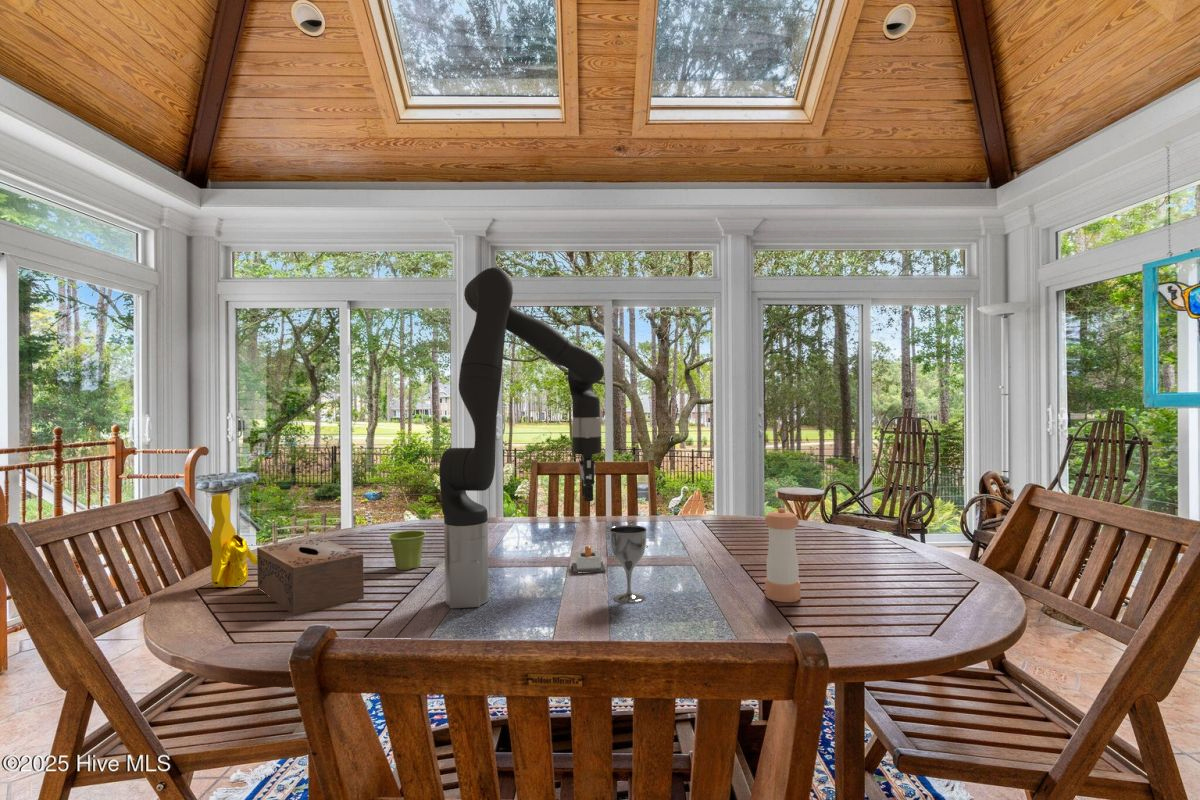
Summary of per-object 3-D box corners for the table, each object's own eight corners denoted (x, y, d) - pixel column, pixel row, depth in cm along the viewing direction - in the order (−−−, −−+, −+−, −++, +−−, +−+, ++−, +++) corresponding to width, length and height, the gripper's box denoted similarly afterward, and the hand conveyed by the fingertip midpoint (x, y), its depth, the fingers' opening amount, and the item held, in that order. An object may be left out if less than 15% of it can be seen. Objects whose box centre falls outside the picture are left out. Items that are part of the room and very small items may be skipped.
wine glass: (617, 605, 126) (615, 534, 126) (606, 594, 133) (605, 526, 133) (652, 601, 128) (651, 531, 128) (640, 590, 136) (639, 524, 136)
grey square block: (601, 569, 151) (600, 557, 151) (577, 570, 151) (577, 558, 151) (598, 562, 157) (598, 551, 157) (575, 563, 157) (575, 552, 157)
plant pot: (420, 572, 153) (419, 538, 153) (383, 572, 154) (382, 538, 154) (431, 562, 163) (430, 530, 163) (396, 562, 163) (396, 530, 163)
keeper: (605, 572, 150) (605, 550, 150) (573, 573, 149) (573, 551, 149) (602, 563, 158) (602, 542, 158) (572, 565, 157) (571, 543, 157)
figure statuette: (225, 597, 136) (223, 499, 136) (189, 597, 136) (188, 500, 136) (266, 574, 154) (265, 488, 154) (235, 575, 154) (234, 489, 154)
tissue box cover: (363, 599, 133) (363, 554, 133) (294, 616, 123) (293, 568, 123) (321, 576, 152) (320, 537, 152) (257, 589, 142) (257, 547, 142)
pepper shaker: (758, 593, 132) (757, 506, 132) (785, 589, 135) (784, 504, 135) (779, 604, 125) (778, 512, 125) (807, 599, 128) (806, 509, 128)
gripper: (570, 434, 161) (571, 494, 161) (573, 436, 146) (574, 503, 146) (598, 433, 161) (599, 493, 161) (603, 436, 147) (604, 502, 147)
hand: (587, 498), depth 154 cm, fingers open, 8 cm apart
